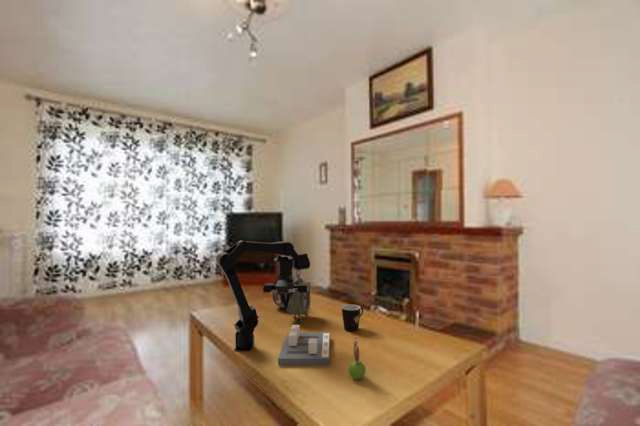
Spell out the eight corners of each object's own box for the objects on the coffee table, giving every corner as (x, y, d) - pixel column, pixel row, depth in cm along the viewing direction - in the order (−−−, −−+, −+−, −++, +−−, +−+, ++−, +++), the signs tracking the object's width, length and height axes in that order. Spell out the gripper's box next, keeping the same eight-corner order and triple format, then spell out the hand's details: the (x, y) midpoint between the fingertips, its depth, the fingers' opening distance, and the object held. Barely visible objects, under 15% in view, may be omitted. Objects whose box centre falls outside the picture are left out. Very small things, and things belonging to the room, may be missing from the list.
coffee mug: (345, 333, 143) (345, 311, 143) (339, 327, 151) (338, 305, 151) (370, 330, 146) (369, 308, 146) (362, 324, 154) (362, 303, 154)
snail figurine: (363, 372, 109) (363, 336, 109) (367, 382, 102) (366, 344, 102) (347, 372, 109) (346, 336, 108) (349, 383, 102) (349, 345, 102)
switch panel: (278, 365, 114) (277, 357, 114) (287, 338, 138) (287, 332, 138) (329, 365, 114) (329, 358, 114) (329, 338, 138) (329, 332, 138)
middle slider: (288, 345, 124) (288, 335, 124) (290, 341, 128) (289, 331, 128) (296, 345, 124) (296, 335, 124) (297, 341, 128) (297, 331, 128)
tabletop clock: (303, 324, 155) (302, 271, 155) (285, 323, 157) (284, 271, 157) (310, 314, 170) (309, 266, 169) (293, 313, 171) (292, 266, 171)
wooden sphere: (289, 302, 193) (289, 276, 193) (304, 307, 182) (304, 280, 182) (267, 307, 184) (266, 280, 184) (282, 313, 172) (281, 285, 172)
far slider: (291, 338, 131) (291, 328, 131) (292, 334, 135) (292, 325, 135) (298, 338, 131) (298, 328, 131) (299, 334, 135) (299, 325, 135)
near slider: (308, 353, 117) (308, 342, 117) (309, 349, 121) (309, 338, 121) (316, 353, 117) (316, 342, 117) (317, 349, 121) (317, 338, 121)
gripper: (259, 275, 131) (259, 313, 131) (305, 275, 130) (305, 314, 130) (266, 269, 142) (266, 305, 142) (308, 269, 141) (309, 306, 141)
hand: (286, 307), depth 139 cm, fingers closed
